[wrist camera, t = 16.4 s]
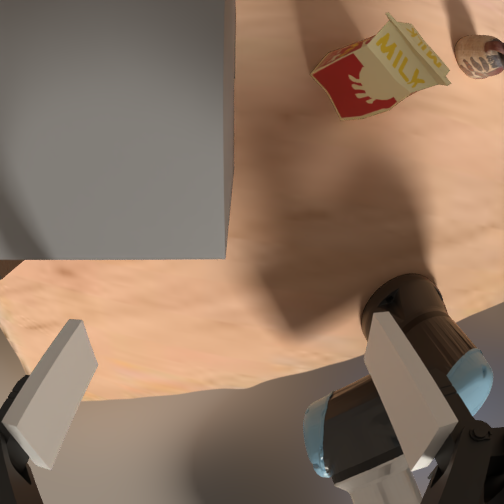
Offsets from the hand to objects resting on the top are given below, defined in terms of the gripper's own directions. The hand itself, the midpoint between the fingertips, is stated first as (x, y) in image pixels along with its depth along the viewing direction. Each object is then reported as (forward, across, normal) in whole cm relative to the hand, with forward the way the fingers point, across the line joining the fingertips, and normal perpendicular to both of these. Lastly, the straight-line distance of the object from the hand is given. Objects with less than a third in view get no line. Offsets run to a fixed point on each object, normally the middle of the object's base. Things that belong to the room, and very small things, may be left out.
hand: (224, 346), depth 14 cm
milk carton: (+31, -15, -16) cm, 38 cm away
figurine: (+31, -37, -23) cm, 53 cm away
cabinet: (+30, +14, -15) cm, 36 cm away
